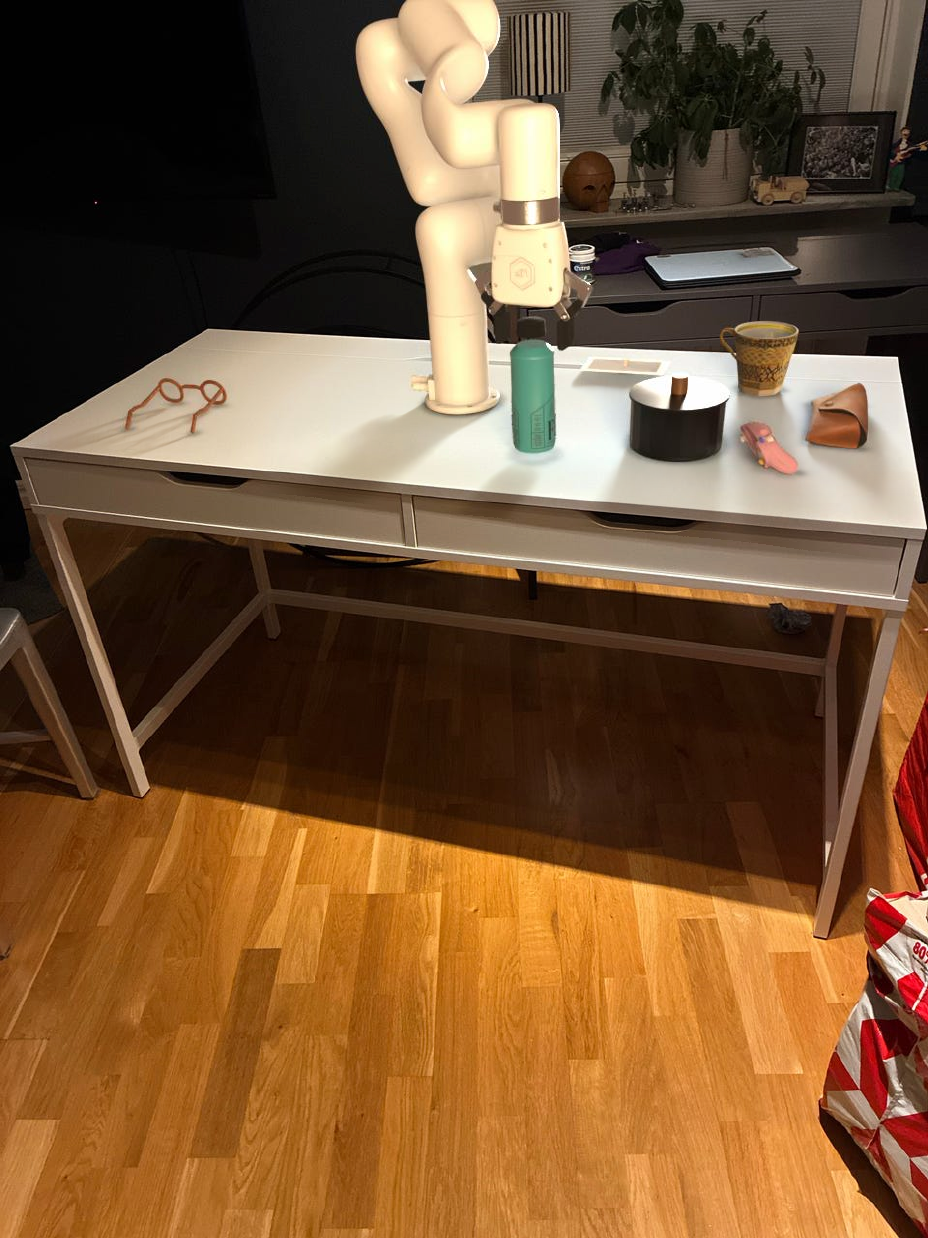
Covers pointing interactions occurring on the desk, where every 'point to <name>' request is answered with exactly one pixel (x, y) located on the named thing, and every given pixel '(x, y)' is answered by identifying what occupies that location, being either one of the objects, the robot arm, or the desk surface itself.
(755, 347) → the ceramic cup
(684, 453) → the black short cylinder
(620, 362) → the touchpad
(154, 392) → the glasses
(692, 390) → the lid
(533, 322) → the beverage bottle
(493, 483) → the desk surface
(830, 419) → the sunglasses case
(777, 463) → the pink cartoon race car
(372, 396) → the desk surface
